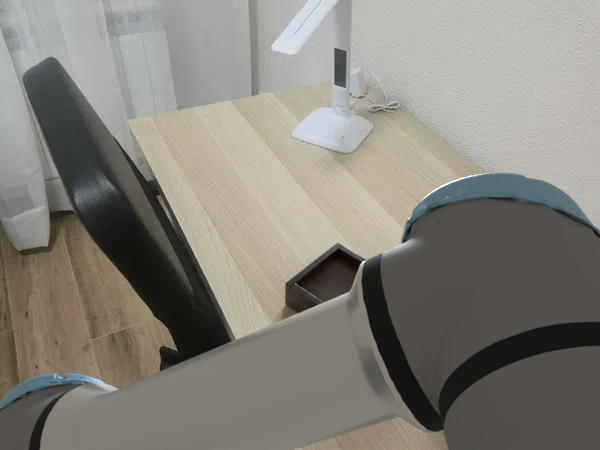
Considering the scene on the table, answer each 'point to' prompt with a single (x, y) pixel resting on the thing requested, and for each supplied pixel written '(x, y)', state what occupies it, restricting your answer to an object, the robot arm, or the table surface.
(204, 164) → the table surface
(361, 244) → the table surface
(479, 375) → the robot arm
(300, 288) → the dark brown square tray
